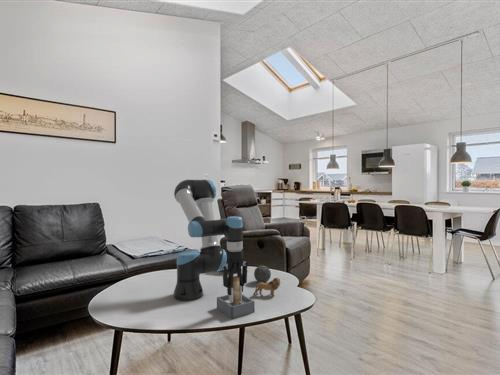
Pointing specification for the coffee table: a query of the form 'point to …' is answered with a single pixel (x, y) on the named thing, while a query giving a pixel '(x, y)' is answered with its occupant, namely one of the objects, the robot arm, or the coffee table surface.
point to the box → (235, 306)
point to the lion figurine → (268, 286)
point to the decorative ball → (262, 274)
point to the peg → (236, 290)
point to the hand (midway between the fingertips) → (235, 300)
